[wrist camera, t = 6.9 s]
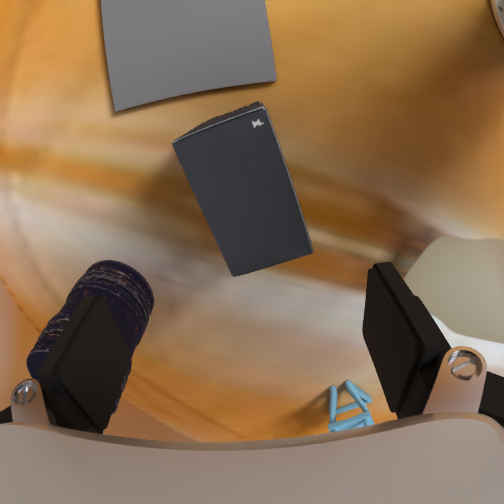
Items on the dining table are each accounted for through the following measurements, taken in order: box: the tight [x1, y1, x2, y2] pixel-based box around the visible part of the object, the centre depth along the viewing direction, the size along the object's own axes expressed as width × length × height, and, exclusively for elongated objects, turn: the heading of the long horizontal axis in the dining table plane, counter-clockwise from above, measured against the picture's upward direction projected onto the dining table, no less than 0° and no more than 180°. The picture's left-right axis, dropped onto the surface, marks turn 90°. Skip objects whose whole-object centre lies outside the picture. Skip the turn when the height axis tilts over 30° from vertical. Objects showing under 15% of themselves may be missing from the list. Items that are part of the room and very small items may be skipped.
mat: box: [101, 0, 277, 112], centre depth 20 cm, size 15×18×1 cm
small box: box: [172, 101, 313, 277], centre depth 24 cm, size 11×6×10 cm, turn 20°
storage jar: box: [26, 260, 154, 415], centre depth 29 cm, size 10×10×15 cm
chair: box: [328, 380, 374, 432], centre depth 40 cm, size 8×8×12 cm
